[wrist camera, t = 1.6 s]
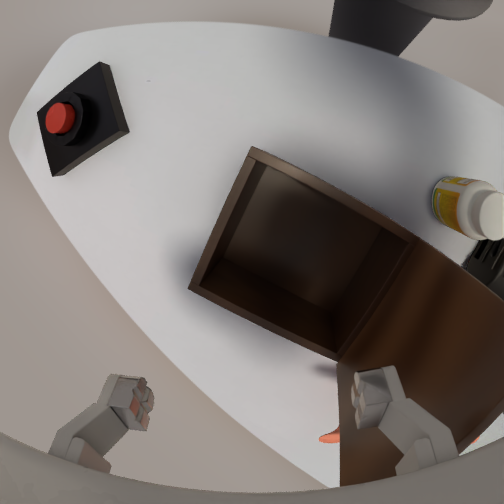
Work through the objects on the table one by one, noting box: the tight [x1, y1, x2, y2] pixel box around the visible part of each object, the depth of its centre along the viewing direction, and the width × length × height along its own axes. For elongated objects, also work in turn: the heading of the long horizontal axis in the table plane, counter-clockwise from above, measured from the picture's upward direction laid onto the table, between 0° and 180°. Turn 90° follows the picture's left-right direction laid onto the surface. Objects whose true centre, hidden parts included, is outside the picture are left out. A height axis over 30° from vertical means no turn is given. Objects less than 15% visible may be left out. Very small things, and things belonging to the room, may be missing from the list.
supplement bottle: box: [432, 177, 504, 240], centre depth 23 cm, size 5×5×10 cm
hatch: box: [336, 238, 504, 487], centre depth 15 cm, size 15×13×1 cm
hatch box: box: [188, 146, 420, 362], centre depth 27 cm, size 15×13×9 cm
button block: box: [37, 61, 129, 177], centre depth 30 cm, size 12×10×4 cm
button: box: [46, 103, 75, 134], centre depth 27 cm, size 4×4×2 cm
